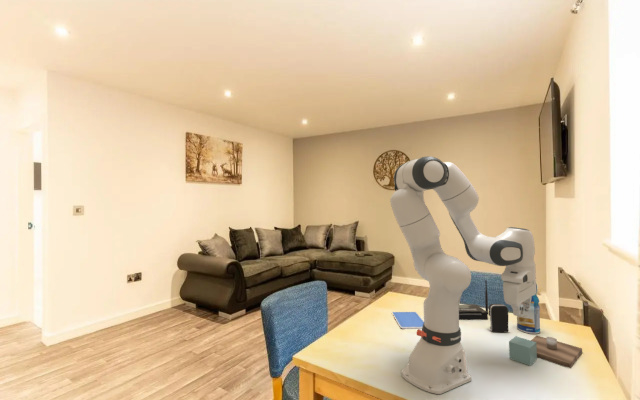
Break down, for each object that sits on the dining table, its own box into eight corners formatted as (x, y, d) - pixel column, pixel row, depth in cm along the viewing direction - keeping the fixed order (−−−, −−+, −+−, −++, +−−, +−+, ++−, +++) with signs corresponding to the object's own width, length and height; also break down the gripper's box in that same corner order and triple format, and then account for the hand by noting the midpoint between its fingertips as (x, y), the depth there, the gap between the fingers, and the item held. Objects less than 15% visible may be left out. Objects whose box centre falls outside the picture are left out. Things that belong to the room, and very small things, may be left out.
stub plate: (570, 368, 99) (569, 353, 99) (521, 352, 110) (521, 338, 110) (582, 352, 109) (581, 338, 109) (536, 339, 120) (536, 326, 120)
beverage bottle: (545, 334, 124) (544, 286, 124) (524, 334, 124) (523, 286, 124) (531, 326, 132) (530, 280, 132) (512, 326, 132) (511, 281, 132)
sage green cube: (530, 365, 101) (530, 348, 101) (509, 358, 106) (508, 341, 106) (536, 359, 105) (536, 342, 105) (516, 352, 110) (515, 336, 110)
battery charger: (504, 329, 130) (503, 302, 130) (509, 332, 126) (508, 305, 126) (487, 328, 130) (487, 302, 130) (492, 332, 127) (491, 305, 127)
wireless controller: (454, 322, 139) (453, 285, 139) (443, 311, 153) (442, 278, 153) (498, 322, 138) (497, 285, 138) (483, 311, 152) (482, 277, 152)
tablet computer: (391, 314, 152) (391, 311, 152) (416, 313, 151) (416, 311, 151) (400, 330, 132) (400, 327, 132) (429, 330, 132) (429, 327, 132)
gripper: (521, 266, 114) (522, 302, 114) (499, 276, 102) (500, 316, 102) (540, 269, 109) (542, 307, 109) (520, 279, 97) (521, 322, 97)
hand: (522, 311), depth 105 cm, fingers open, 8 cm apart
